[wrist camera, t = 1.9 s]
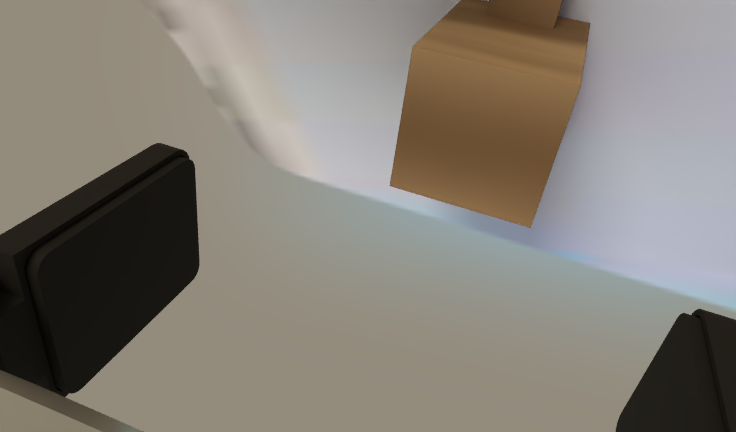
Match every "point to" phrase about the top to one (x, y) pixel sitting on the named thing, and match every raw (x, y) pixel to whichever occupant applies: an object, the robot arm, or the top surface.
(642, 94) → the top surface
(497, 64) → the brown piece
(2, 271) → the robot arm
